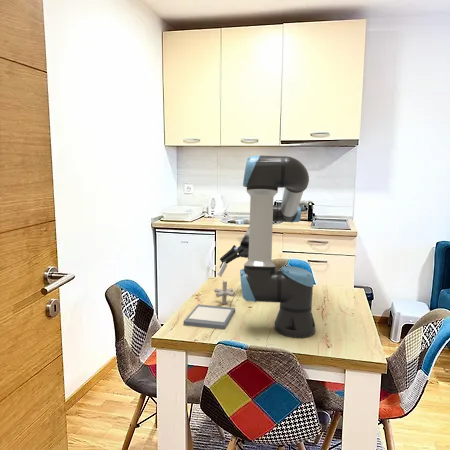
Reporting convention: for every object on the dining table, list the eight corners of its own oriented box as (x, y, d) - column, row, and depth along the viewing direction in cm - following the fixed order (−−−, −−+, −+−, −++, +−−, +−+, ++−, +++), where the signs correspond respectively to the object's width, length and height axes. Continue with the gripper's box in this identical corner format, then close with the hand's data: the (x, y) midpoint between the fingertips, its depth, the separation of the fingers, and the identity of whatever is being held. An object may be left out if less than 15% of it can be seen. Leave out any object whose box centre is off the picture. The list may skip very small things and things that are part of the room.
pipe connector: (226, 309, 180) (227, 286, 179) (208, 303, 186) (208, 281, 185) (240, 303, 188) (240, 281, 186) (222, 298, 194) (222, 277, 192)
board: (198, 307, 181) (198, 303, 181) (235, 311, 178) (235, 307, 177) (183, 324, 162) (183, 320, 161) (224, 329, 158) (224, 325, 158)
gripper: (276, 248, 195) (258, 287, 186) (232, 241, 210) (213, 277, 200) (271, 238, 190) (251, 278, 181) (226, 232, 205) (206, 268, 195)
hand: (231, 278), depth 190 cm, fingers open, 13 cm apart
